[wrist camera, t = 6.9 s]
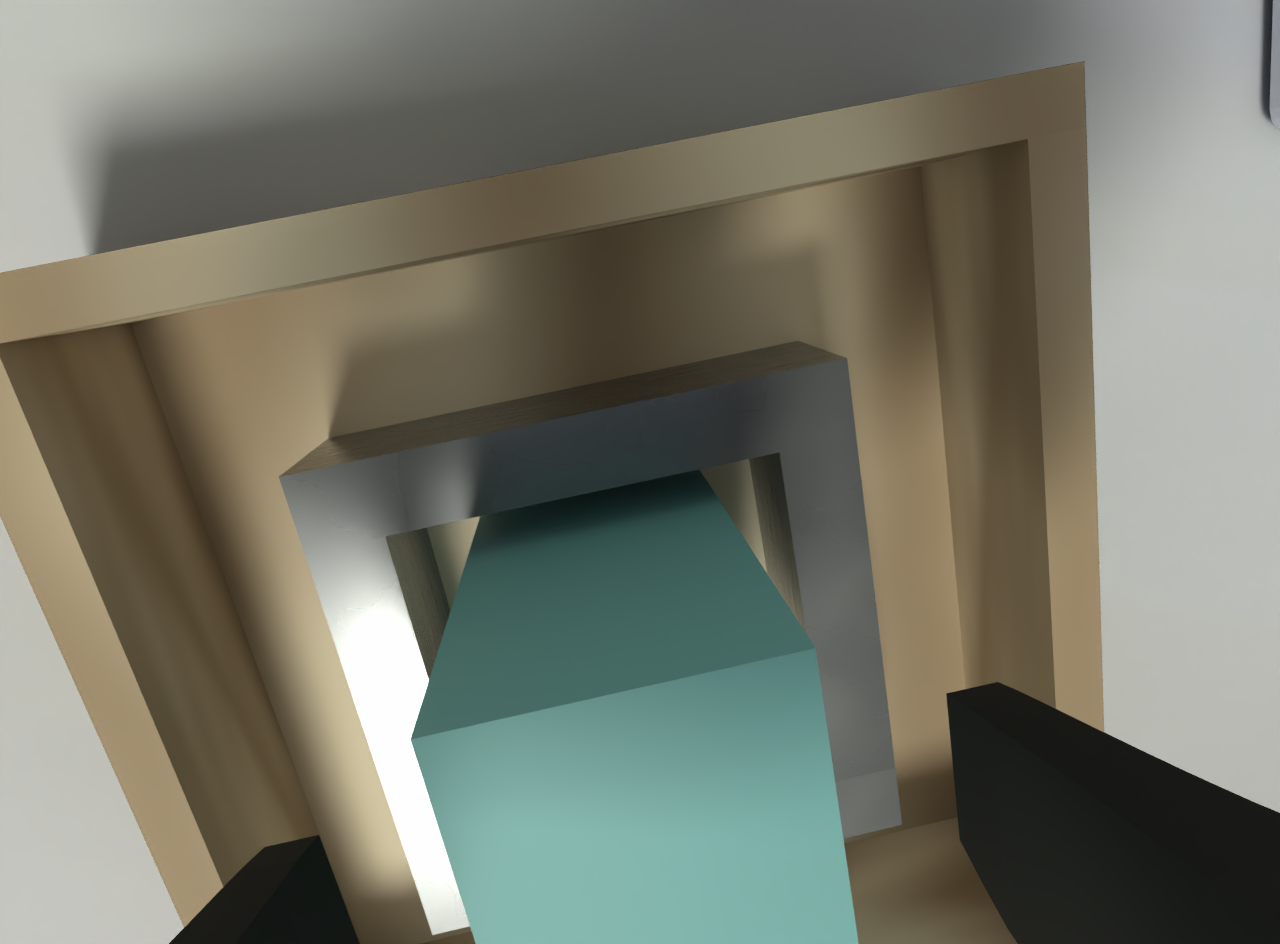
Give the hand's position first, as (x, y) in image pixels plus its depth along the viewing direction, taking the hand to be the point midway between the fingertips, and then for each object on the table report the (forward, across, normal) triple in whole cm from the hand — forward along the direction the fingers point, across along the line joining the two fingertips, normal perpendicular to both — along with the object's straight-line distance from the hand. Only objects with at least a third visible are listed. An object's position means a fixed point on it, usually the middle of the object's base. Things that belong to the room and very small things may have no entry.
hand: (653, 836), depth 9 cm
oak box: (+7, 0, 0) cm, 7 cm away
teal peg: (+6, 0, 0) cm, 6 cm away
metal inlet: (+6, 0, 0) cm, 6 cm away
